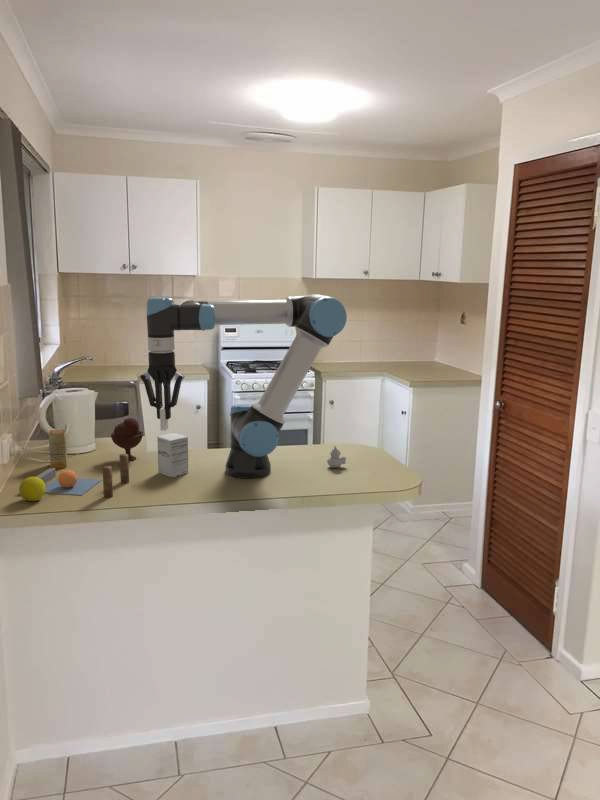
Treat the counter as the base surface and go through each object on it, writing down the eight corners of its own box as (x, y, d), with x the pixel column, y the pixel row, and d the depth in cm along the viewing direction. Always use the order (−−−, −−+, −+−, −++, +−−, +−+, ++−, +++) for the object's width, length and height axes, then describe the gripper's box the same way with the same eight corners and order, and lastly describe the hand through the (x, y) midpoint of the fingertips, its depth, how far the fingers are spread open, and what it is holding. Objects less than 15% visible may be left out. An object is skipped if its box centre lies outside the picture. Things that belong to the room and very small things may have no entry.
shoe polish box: (67, 463, 224) (65, 429, 221) (66, 467, 219) (64, 433, 217) (52, 464, 223) (49, 430, 220) (50, 468, 218) (48, 434, 215)
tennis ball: (42, 504, 187) (40, 481, 185) (16, 504, 186) (14, 481, 185) (49, 495, 194) (47, 473, 192) (24, 496, 193) (23, 473, 192)
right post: (130, 481, 207) (129, 454, 205) (127, 483, 205) (126, 456, 203) (122, 480, 208) (121, 453, 206) (119, 483, 205) (118, 456, 203)
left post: (114, 495, 195) (113, 466, 193) (110, 498, 193) (109, 469, 191) (106, 494, 195) (104, 465, 194) (102, 497, 193) (101, 468, 191)
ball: (73, 488, 204) (83, 475, 202) (65, 493, 198) (75, 481, 197) (60, 476, 203) (70, 464, 202) (51, 482, 198) (61, 469, 197)
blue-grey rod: (55, 476, 211) (55, 468, 210) (29, 493, 195) (28, 485, 195) (50, 475, 211) (49, 468, 211) (23, 492, 196) (22, 484, 195)
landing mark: (101, 480, 208) (101, 479, 208) (81, 495, 194) (81, 494, 194) (60, 477, 210) (60, 476, 210) (37, 492, 196) (37, 491, 196)
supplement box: (157, 472, 216) (156, 436, 213) (175, 468, 221) (174, 432, 219) (170, 478, 211) (169, 440, 208) (189, 473, 216) (188, 436, 214)
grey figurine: (325, 465, 227) (326, 443, 226) (344, 464, 228) (345, 442, 226) (328, 470, 222) (329, 447, 220) (347, 469, 223) (348, 447, 221)
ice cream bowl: (134, 453, 237) (132, 413, 234) (149, 460, 229) (148, 418, 226) (106, 458, 230) (104, 417, 226) (122, 466, 222) (120, 423, 218)
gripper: (135, 352, 187) (138, 431, 192) (179, 353, 186) (182, 433, 191) (144, 348, 194) (147, 425, 199) (186, 349, 193) (189, 427, 198)
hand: (164, 429), depth 195 cm, fingers closed
